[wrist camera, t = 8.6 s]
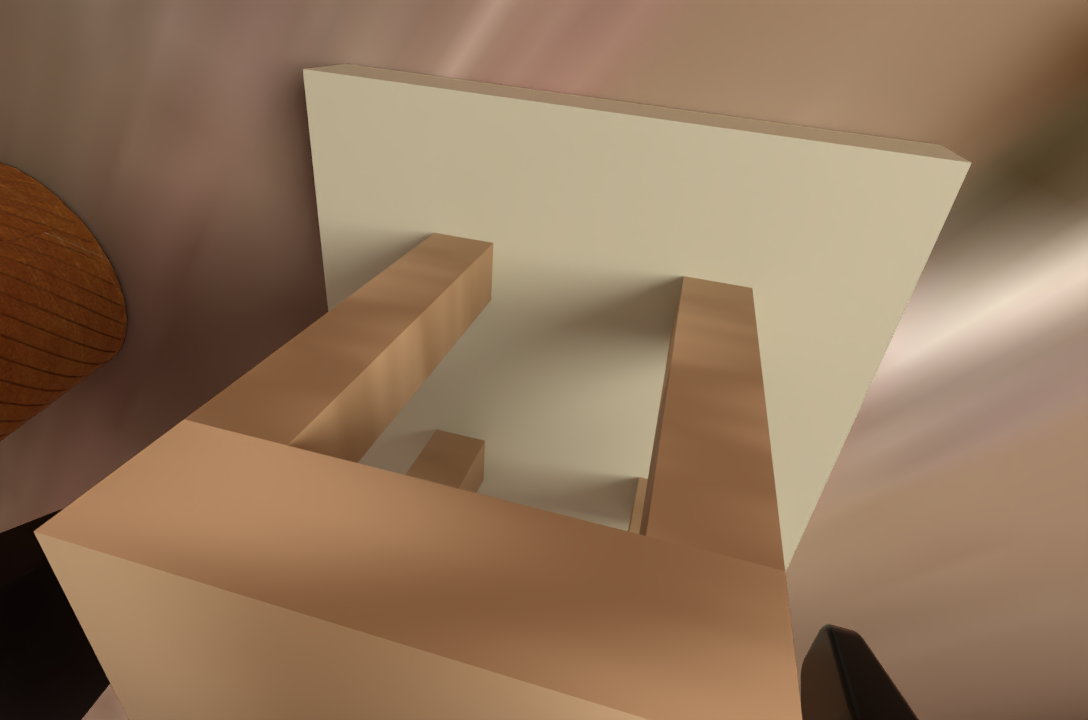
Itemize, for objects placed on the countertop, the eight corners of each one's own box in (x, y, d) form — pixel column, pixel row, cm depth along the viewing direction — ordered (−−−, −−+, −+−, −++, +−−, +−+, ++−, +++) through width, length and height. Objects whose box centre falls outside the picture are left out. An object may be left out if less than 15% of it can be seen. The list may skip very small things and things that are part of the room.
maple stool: (752, 287, 10) (808, 769, 4) (682, 528, 14) (644, 1028, 7) (434, 232, 12) (33, 532, 5) (437, 467, 15) (194, 850, 8)
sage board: (940, 144, 10) (971, 163, 9) (757, 577, 16) (761, 626, 14) (347, 63, 12) (303, 68, 11) (375, 477, 18) (348, 512, 16)
